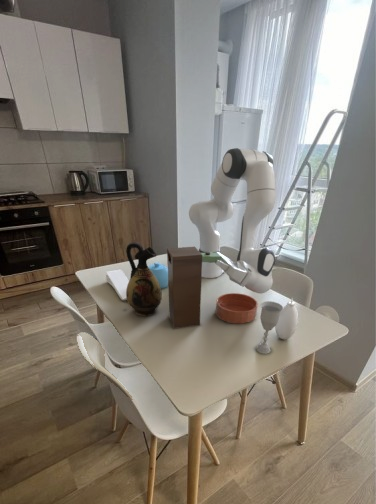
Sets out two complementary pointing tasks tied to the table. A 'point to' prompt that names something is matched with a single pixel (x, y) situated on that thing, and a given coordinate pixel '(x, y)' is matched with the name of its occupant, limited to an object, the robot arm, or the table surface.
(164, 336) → the table surface
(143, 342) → the table surface
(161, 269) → the sugar bowl
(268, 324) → the chalice
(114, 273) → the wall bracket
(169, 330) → the table surface
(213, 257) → the green rectangular block
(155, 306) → the ceramic jug
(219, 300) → the bowl
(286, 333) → the white tall oval piece
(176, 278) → the stand
